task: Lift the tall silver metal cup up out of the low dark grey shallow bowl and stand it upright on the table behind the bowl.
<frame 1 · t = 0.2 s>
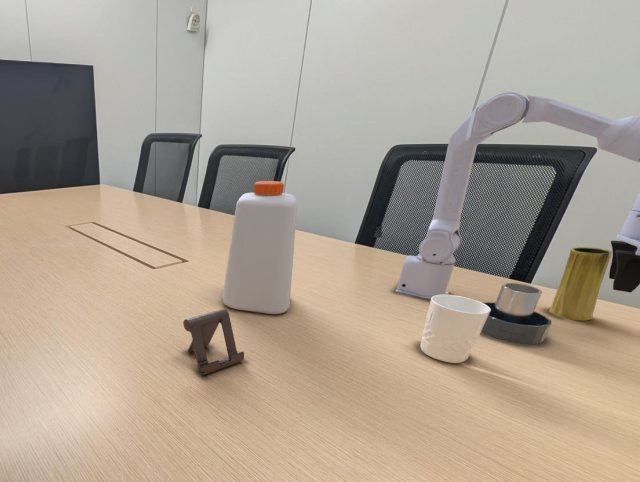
hand: (619, 284, 70), 10 cm above the table, tool pointing down, fingers open, 7 cm apart
tablet stand: (209, 360, 68), on the table
vase: (569, 315, 80), on the table
dark grey shallow bowl: (504, 331, 75), on the table
silver cup: (504, 329, 74), resting on dark grey shallow bowl
white cup: (442, 354, 68), on the table
plastic bottle: (255, 301, 91), on the table
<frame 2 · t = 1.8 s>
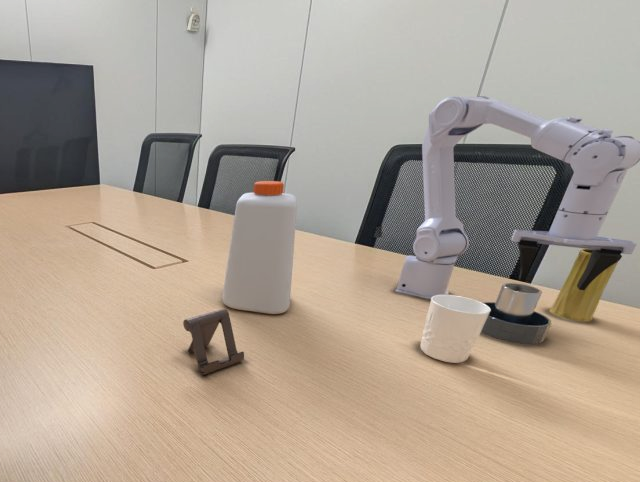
hand: (550, 283, 70), 10 cm above the table, tool pointing down, fingers open, 7 cm apart
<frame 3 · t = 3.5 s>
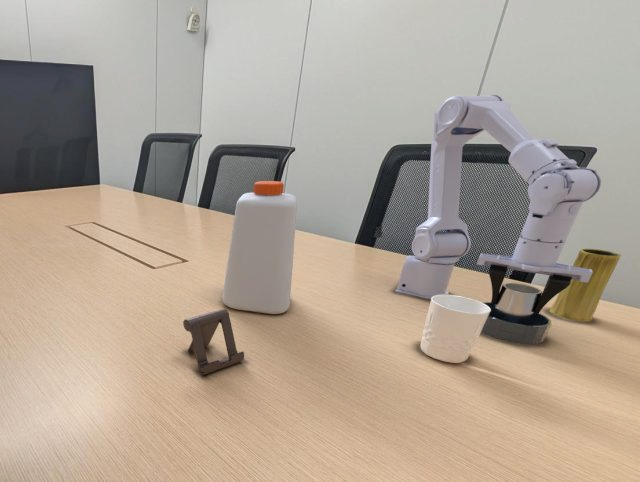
hand: (513, 307, 72), 5 cm above the table, tool pointing down, fingers closed on silver cup, 5 cm apart
silver cup: (504, 329, 74), resting on dark grey shallow bowl, touching gripper
everything else where it was.
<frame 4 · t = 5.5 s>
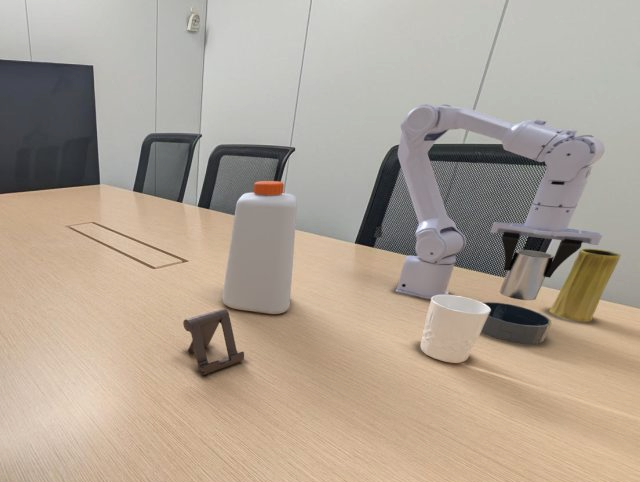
hand: (526, 272, 76), 10 cm above the table, tool pointing down, fingers closed on silver cup, 5 cm apart
silver cup: (517, 295, 78), point 5 cm above the table, touching gripper
everything else where it was.
when the fingers open (5 cm above the table, at t = 7.8 s): silver cup stays where it is, on the table.
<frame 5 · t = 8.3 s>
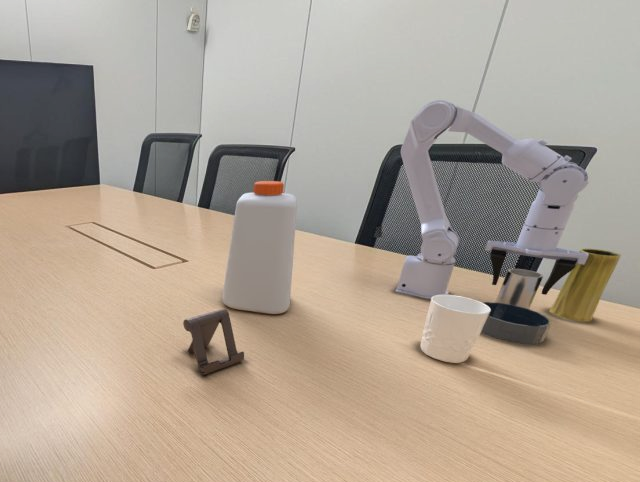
hand: (518, 288, 81), 5 cm above the table, tool pointing down, fingers open, 7 cm apart
silver cup: (509, 310, 83), on the table
everything else where it was.
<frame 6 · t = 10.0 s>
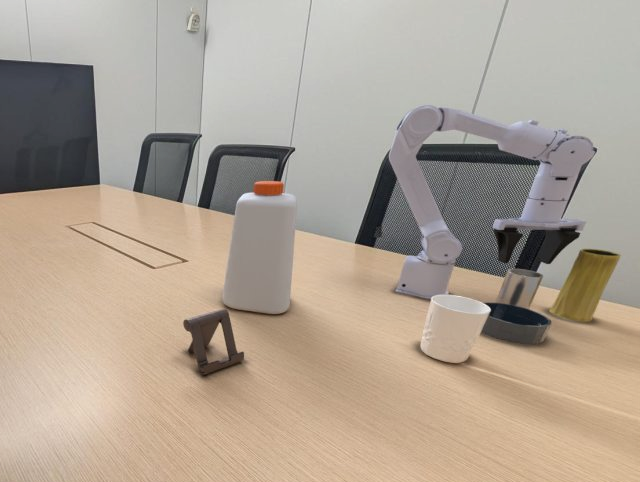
hand: (523, 262, 81), 10 cm above the table, tool pointing down, fingers open, 7 cm apart
nothing on the table moved.
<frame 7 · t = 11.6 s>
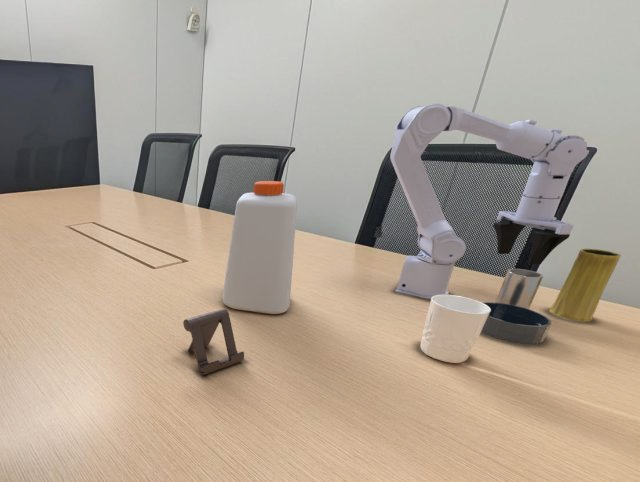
hand: (518, 258, 84), 10 cm above the table, tool pointing down, fingers open, 7 cm apart
nothing on the table moved.
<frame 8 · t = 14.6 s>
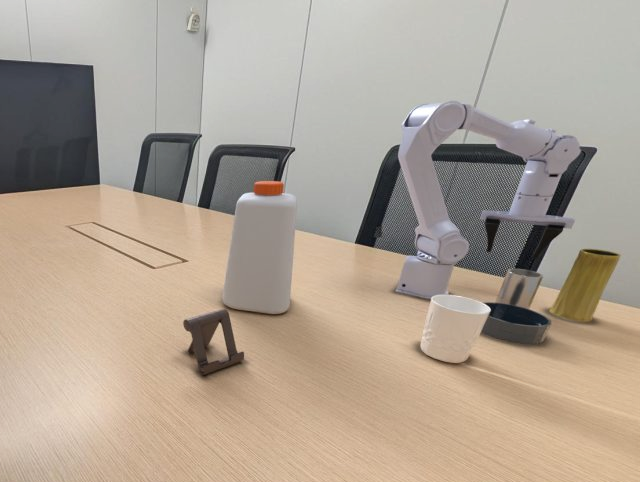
hand: (511, 254, 86), 10 cm above the table, tool pointing down, fingers open, 7 cm apart
nothing on the table moved.
at the end: silver cup inside the target area (0.1 cm from its centre), on the table; silver cup tilted 0°; silver cup touching table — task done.
